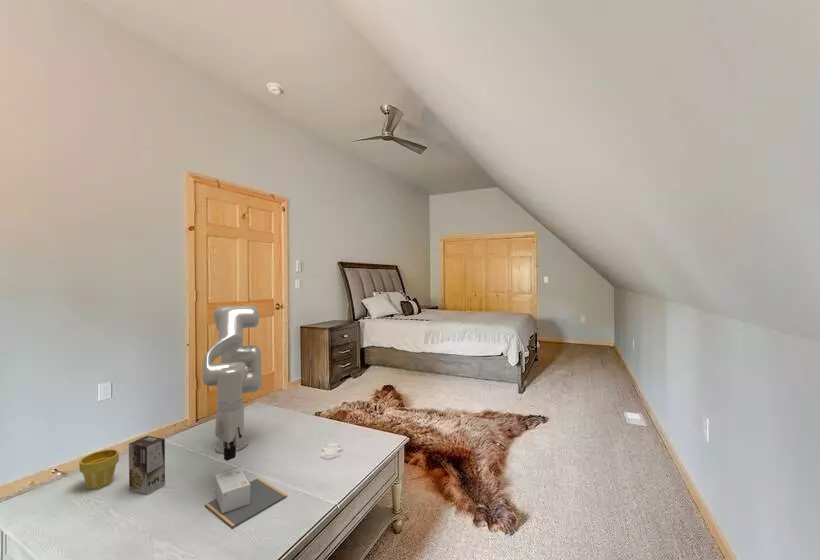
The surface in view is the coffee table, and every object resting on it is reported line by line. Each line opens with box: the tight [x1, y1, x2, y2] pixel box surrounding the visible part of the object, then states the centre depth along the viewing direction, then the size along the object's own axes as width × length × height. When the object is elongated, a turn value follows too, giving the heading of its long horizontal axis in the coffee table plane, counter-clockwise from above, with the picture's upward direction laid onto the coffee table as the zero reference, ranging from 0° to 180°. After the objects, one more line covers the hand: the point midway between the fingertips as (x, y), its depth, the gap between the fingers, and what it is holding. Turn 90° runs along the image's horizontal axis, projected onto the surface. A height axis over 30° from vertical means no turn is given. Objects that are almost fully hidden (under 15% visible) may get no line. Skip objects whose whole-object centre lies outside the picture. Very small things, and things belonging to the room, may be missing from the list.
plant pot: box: [78, 448, 120, 490], centre depth 122 cm, size 10×10×10 cm
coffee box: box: [128, 435, 166, 496], centre depth 120 cm, size 9×6×16 cm
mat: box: [204, 477, 288, 530], centre depth 112 cm, size 17×18×1 cm
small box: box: [214, 467, 251, 514], centre depth 112 cm, size 8×6×13 cm
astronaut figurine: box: [319, 442, 344, 461], centre depth 144 cm, size 9×12×3 cm
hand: (229, 458), depth 118 cm, fingers closed
